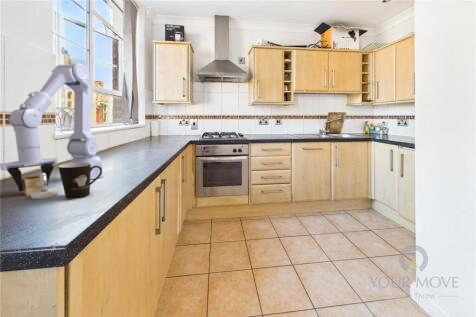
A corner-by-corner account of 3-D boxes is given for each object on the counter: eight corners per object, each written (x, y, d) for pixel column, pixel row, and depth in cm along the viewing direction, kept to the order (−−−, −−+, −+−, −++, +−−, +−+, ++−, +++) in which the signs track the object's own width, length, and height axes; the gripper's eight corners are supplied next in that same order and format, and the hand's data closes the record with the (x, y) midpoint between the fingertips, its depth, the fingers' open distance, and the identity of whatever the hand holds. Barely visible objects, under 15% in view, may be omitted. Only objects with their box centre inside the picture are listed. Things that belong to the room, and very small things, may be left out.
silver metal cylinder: (46, 190, 83) (44, 171, 82) (48, 191, 82) (46, 172, 81) (40, 191, 82) (37, 172, 81) (42, 192, 81) (39, 173, 80)
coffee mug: (59, 201, 76) (56, 168, 75) (63, 194, 84) (60, 163, 82) (104, 196, 82) (101, 165, 80) (103, 189, 89) (101, 161, 88)
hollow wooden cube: (40, 189, 89) (39, 175, 88) (45, 192, 86) (44, 177, 85) (22, 192, 85) (20, 178, 85) (27, 195, 82) (25, 180, 82)
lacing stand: (54, 191, 87) (53, 187, 87) (61, 195, 83) (61, 190, 83) (28, 196, 82) (27, 191, 82) (35, 200, 77) (34, 195, 77)
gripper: (50, 144, 92) (55, 182, 94) (-5, 148, 80) (1, 191, 82) (58, 146, 87) (62, 185, 89) (1, 150, 76) (7, 195, 78)
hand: (33, 188), depth 86 cm, fingers open, 6 cm apart
